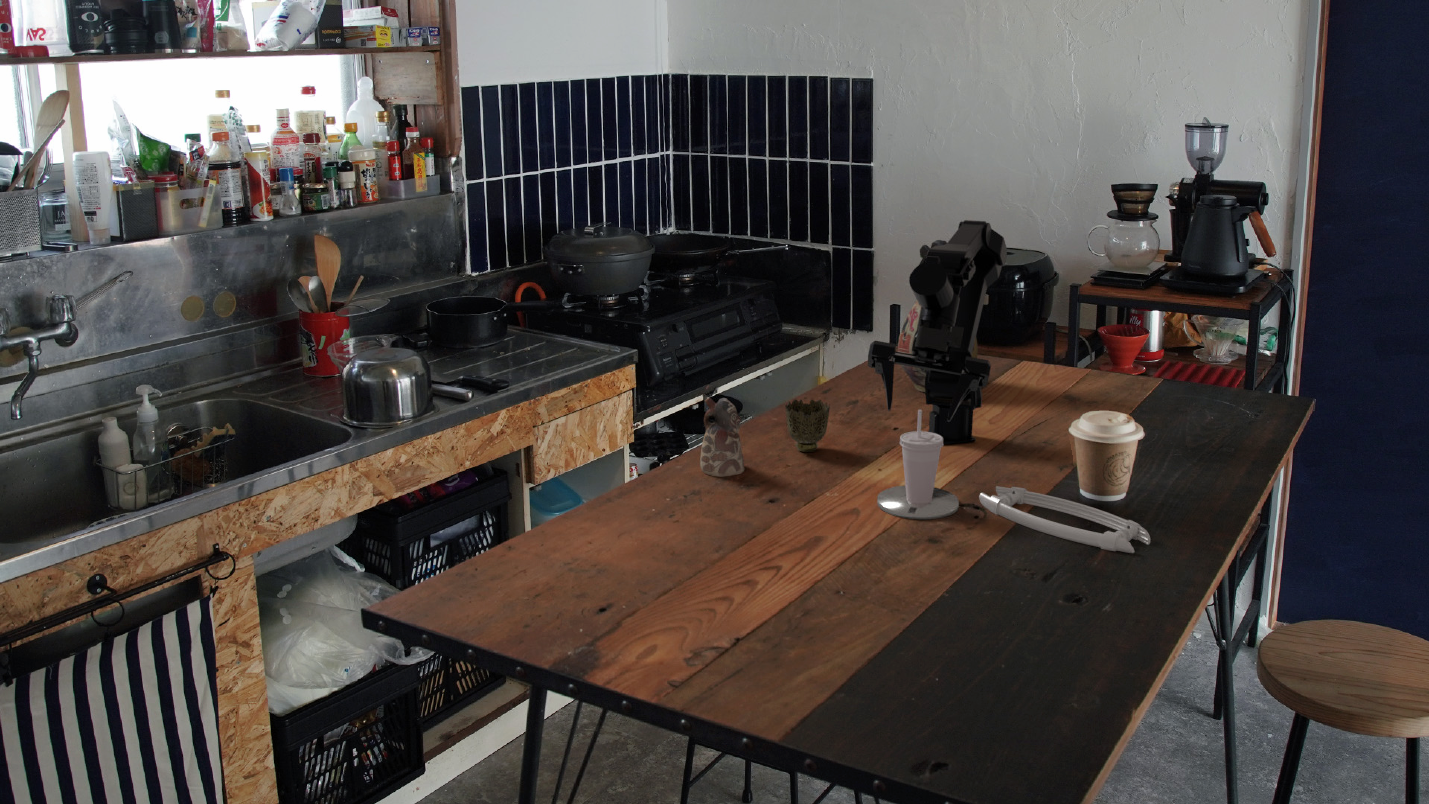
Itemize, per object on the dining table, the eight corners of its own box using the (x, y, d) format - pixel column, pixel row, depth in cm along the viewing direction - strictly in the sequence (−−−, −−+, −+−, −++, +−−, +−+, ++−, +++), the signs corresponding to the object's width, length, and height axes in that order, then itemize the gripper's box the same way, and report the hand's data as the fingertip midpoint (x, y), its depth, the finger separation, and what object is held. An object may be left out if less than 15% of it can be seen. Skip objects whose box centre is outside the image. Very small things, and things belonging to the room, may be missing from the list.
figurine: (735, 479, 196) (735, 406, 193) (693, 474, 198) (692, 402, 195) (750, 464, 202) (750, 394, 199) (709, 460, 205) (708, 390, 201)
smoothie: (888, 496, 186) (891, 407, 182) (921, 488, 189) (925, 400, 185) (916, 510, 180) (920, 418, 176) (950, 501, 184) (954, 411, 180)
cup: (829, 443, 212) (830, 398, 210) (828, 457, 205) (829, 411, 203) (785, 442, 213) (786, 397, 211) (783, 456, 206) (784, 410, 204)
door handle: (1006, 495, 189) (1159, 541, 172) (967, 512, 183) (1122, 562, 165) (1007, 478, 189) (1160, 523, 171) (968, 495, 182) (1123, 543, 165)
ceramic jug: (887, 379, 251) (892, 232, 242) (962, 376, 252) (969, 230, 244) (909, 403, 235) (915, 246, 226) (988, 400, 236) (997, 244, 227)
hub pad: (885, 486, 192) (885, 481, 192) (963, 494, 188) (964, 490, 188) (869, 514, 181) (869, 509, 181) (952, 523, 178) (952, 518, 177)
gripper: (878, 292, 189) (858, 387, 185) (1001, 313, 186) (984, 410, 182) (877, 319, 200) (859, 410, 195) (994, 339, 196) (977, 432, 192)
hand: (918, 415), depth 191 cm, fingers open, 9 cm apart
